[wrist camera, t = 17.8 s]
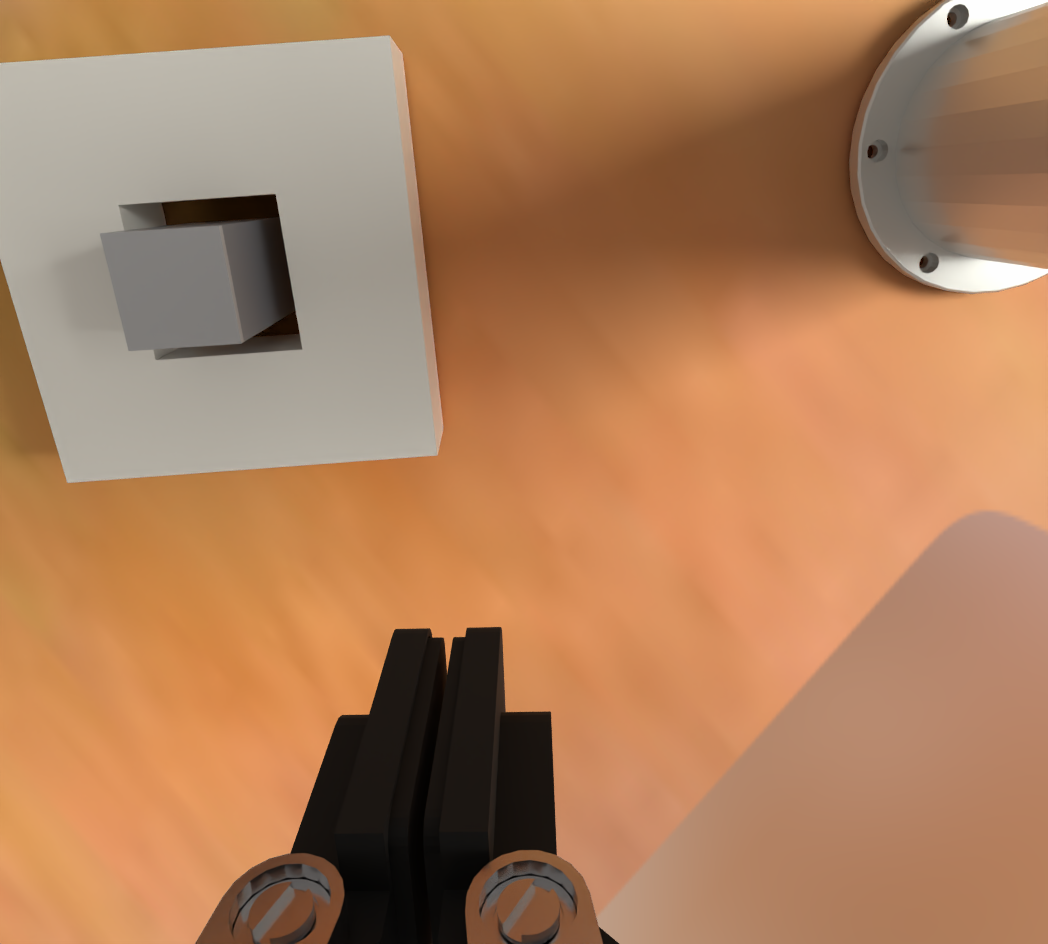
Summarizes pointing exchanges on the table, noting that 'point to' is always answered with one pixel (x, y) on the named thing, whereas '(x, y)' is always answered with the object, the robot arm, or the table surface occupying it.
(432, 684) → the robot arm
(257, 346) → the socket housing
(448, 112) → the table surface
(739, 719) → the table surface
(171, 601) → the table surface
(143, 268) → the plug
